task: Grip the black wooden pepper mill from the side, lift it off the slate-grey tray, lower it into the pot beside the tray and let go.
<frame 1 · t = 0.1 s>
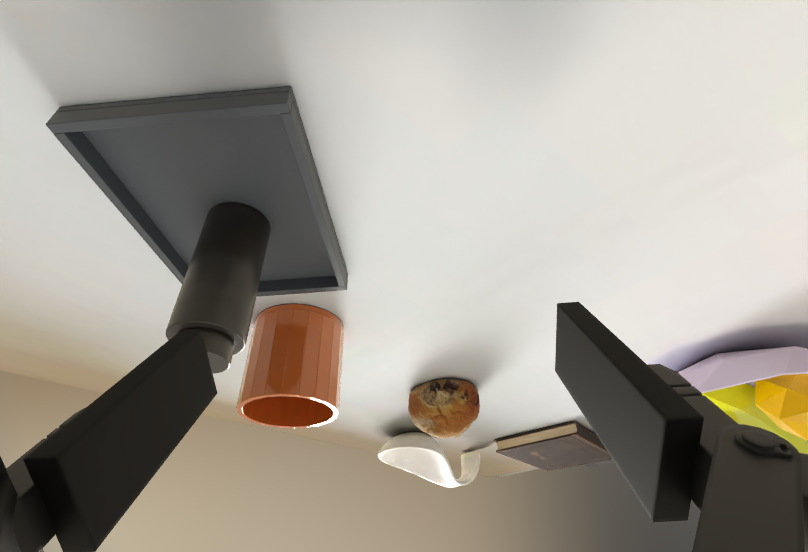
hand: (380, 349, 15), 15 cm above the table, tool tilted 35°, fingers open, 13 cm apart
bread roll: (442, 389, 59), on the table
hardcover book: (557, 441, 83), on the table
fruit bowl: (724, 372, 57), on the table
pot: (300, 327, 43), on the table
pepper mill: (239, 223, 30), resting on tray
spoon rest: (433, 440, 79), on the table
tray: (235, 209, 30), on the table
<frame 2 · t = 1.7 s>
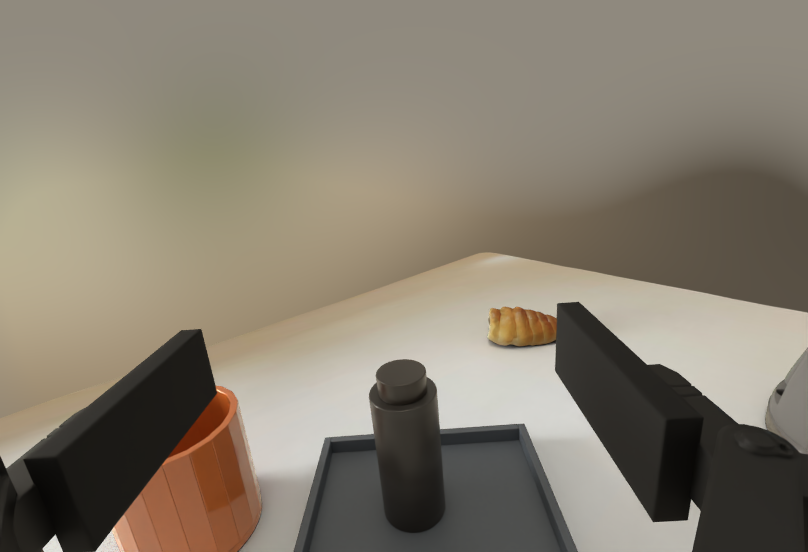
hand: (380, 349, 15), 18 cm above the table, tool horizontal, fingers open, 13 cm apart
pastry: (518, 337, 54), on the table
pot: (198, 525, 30), on the table
pepper mill: (414, 505, 30), resting on tray
tray: (429, 510, 30), on the table
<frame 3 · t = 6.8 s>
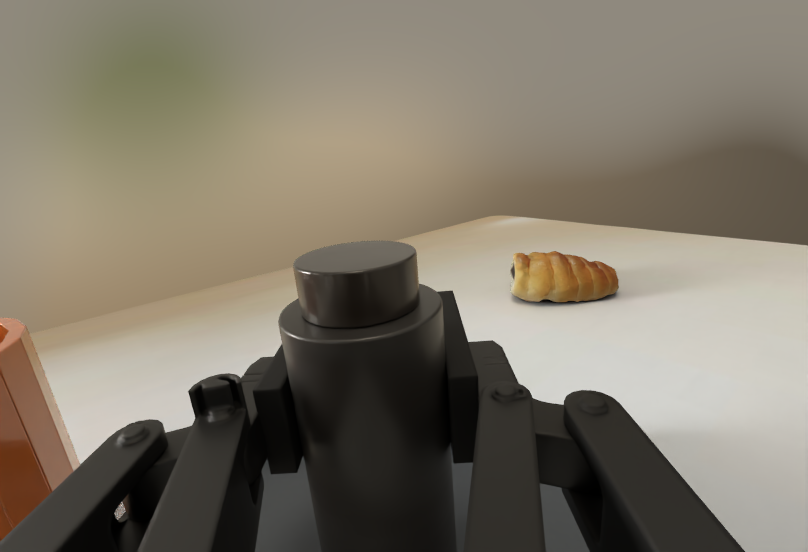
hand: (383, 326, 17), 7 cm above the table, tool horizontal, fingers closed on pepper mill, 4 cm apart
pastry: (553, 294, 39), on the table
when the fingers open (11 cm above the table, at t = 13.3 s): pepper mill drops 3 cm, resting on pot.
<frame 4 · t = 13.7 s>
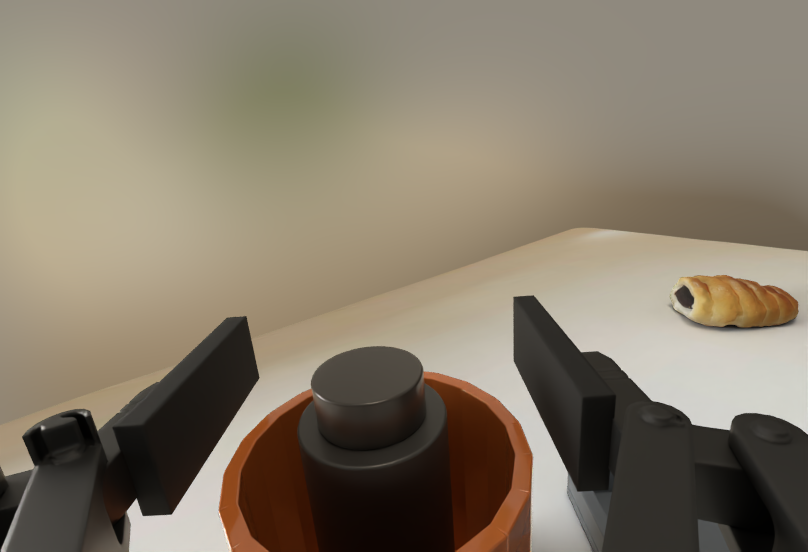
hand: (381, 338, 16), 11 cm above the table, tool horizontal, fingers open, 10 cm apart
pastry: (722, 317, 39), on the table
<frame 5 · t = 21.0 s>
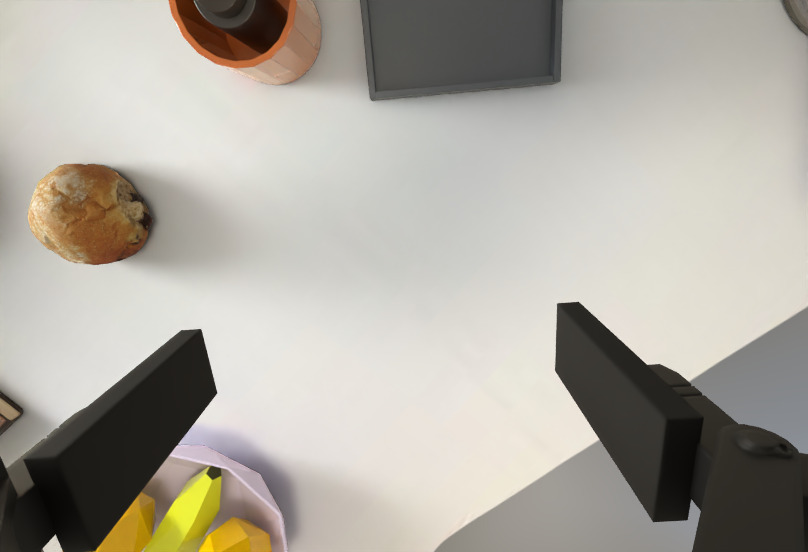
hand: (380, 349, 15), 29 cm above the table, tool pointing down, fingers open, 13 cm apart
bread roll: (108, 212, 43), on the table
fruit bowl: (195, 506, 55), on the table
pot: (271, 30, 38), on the table
pepper mill: (269, 29, 37), point 1 cm above the table, touching pot
tray: (459, 12, 37), on the table
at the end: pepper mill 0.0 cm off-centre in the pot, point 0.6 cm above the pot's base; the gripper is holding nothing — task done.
